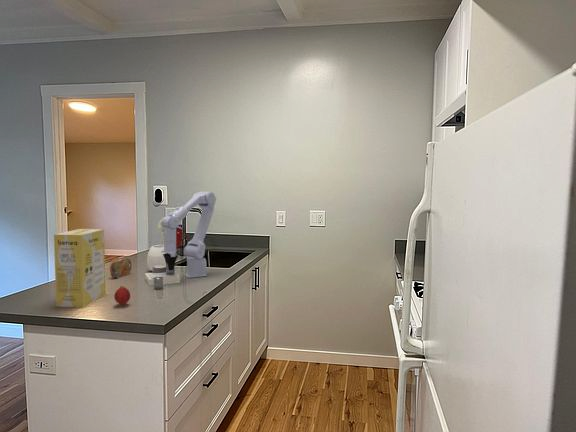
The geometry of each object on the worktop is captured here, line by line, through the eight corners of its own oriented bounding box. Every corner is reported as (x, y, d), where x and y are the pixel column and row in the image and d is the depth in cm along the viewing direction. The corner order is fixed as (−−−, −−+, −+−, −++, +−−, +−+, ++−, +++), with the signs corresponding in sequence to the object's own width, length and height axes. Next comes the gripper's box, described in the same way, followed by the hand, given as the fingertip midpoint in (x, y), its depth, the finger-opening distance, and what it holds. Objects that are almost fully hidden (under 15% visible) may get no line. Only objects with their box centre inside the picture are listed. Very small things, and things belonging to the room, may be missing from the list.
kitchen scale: (173, 276, 211) (173, 264, 211) (180, 283, 198) (179, 269, 198) (144, 279, 205) (144, 266, 204) (149, 286, 192) (149, 272, 191)
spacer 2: (173, 272, 204) (173, 262, 203) (175, 274, 200) (175, 264, 199) (165, 273, 202) (165, 263, 201) (166, 275, 198) (166, 265, 198)
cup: (176, 268, 229) (176, 244, 228) (167, 274, 216) (167, 248, 215) (153, 267, 230) (153, 243, 229) (142, 273, 217) (142, 247, 216)
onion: (117, 303, 165) (116, 283, 165) (132, 303, 166) (131, 283, 165) (112, 307, 160) (112, 287, 159) (127, 307, 160) (127, 287, 159)
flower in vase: (155, 254, 269) (154, 216, 267) (173, 254, 273) (173, 216, 271) (155, 258, 257) (154, 218, 255) (174, 257, 260) (173, 218, 258)
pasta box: (81, 293, 178) (79, 228, 176) (105, 294, 178) (104, 229, 175) (56, 306, 160) (53, 234, 157) (83, 307, 160) (81, 235, 157)
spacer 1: (162, 287, 191) (162, 276, 190) (163, 289, 187) (163, 278, 187) (153, 287, 189) (153, 277, 188) (154, 290, 185) (154, 279, 185)
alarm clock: (183, 245, 306) (183, 218, 304) (189, 247, 299) (188, 219, 298) (164, 247, 296) (164, 219, 295) (169, 249, 290) (169, 221, 288)
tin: (114, 279, 203) (114, 262, 202) (109, 279, 204) (108, 262, 203) (132, 273, 218) (131, 257, 217) (126, 272, 218) (126, 256, 218)
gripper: (158, 239, 204) (159, 266, 205) (164, 243, 191) (164, 272, 192) (173, 238, 207) (173, 265, 208) (179, 243, 194) (179, 271, 196)
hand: (170, 269), depth 201 cm, fingers closed on spacer 2, 4 cm apart
